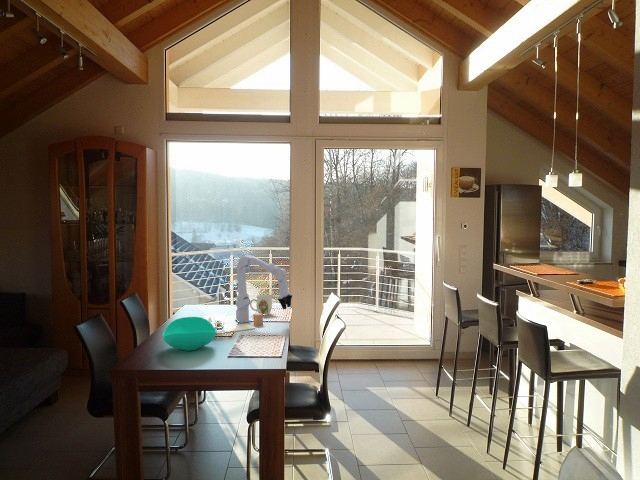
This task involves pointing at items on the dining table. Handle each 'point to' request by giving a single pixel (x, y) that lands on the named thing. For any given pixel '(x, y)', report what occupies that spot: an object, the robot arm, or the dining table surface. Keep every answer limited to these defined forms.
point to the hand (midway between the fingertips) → (286, 308)
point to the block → (258, 319)
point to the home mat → (243, 327)
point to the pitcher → (263, 304)
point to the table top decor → (189, 333)
